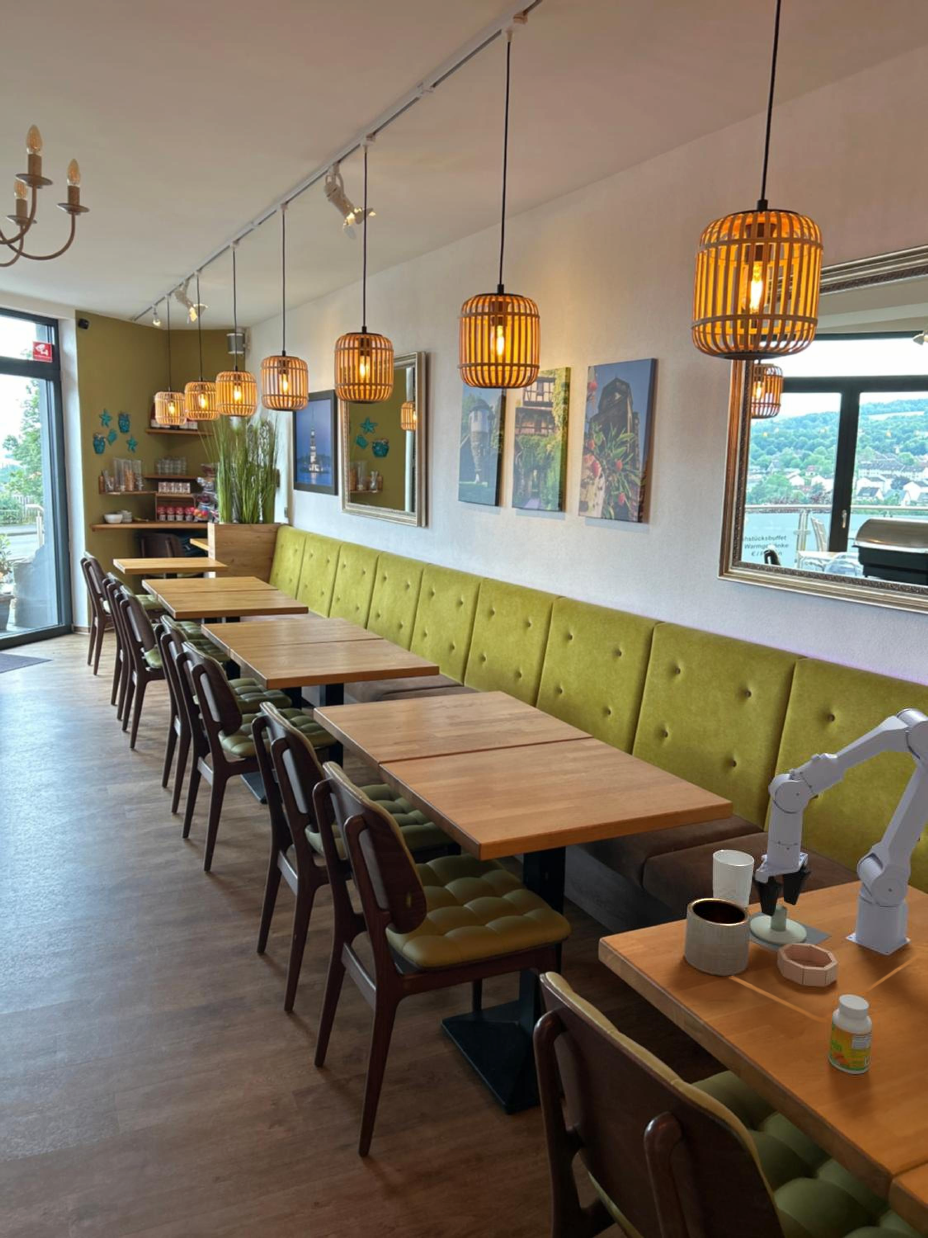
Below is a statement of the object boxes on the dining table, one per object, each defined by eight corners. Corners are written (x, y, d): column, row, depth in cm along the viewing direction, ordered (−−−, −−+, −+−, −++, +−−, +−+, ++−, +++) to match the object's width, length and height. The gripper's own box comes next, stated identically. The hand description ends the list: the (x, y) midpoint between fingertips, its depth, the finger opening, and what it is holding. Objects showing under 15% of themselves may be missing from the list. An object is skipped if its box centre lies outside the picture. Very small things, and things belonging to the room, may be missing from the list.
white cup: (752, 915, 178) (756, 867, 177) (711, 911, 180) (714, 863, 178) (748, 898, 186) (751, 852, 185) (709, 894, 188) (712, 848, 186)
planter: (724, 943, 167) (727, 894, 166) (760, 973, 157) (764, 921, 155) (672, 951, 164) (675, 901, 162) (706, 982, 153) (709, 929, 152)
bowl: (796, 956, 163) (797, 938, 162) (844, 977, 156) (845, 958, 155) (768, 972, 157) (769, 953, 156) (816, 995, 150) (818, 975, 150)
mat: (765, 911, 180) (765, 908, 180) (831, 938, 170) (831, 935, 169) (723, 931, 171) (724, 928, 171) (791, 962, 161) (791, 958, 161)
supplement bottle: (821, 1053, 134) (826, 992, 133) (856, 1052, 135) (861, 991, 134) (839, 1076, 129) (845, 1013, 128) (875, 1075, 130) (881, 1012, 128)
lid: (768, 914, 177) (770, 891, 177) (816, 934, 170) (818, 910, 169) (739, 929, 171) (741, 905, 170) (787, 951, 163) (789, 926, 163)
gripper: (786, 824, 176) (780, 891, 177) (743, 841, 166) (738, 911, 168) (820, 836, 170) (814, 904, 172) (777, 854, 161) (772, 926, 163)
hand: (778, 908), depth 170 cm, fingers open, 7 cm apart
